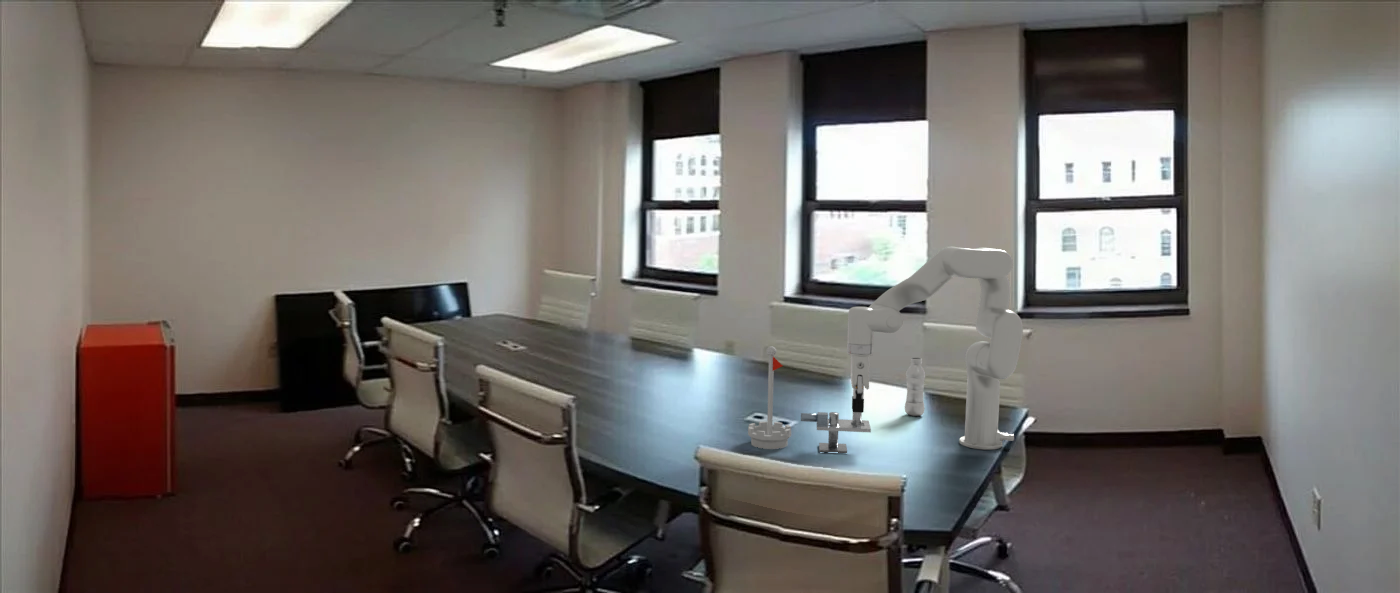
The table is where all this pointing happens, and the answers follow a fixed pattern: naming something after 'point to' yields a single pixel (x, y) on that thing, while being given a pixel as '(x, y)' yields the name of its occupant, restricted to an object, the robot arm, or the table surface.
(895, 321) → the robot arm
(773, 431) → the flag stand
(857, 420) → the pin
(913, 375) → the plastic bottle
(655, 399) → the table surface
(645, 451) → the table surface
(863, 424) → the plate with square hole
